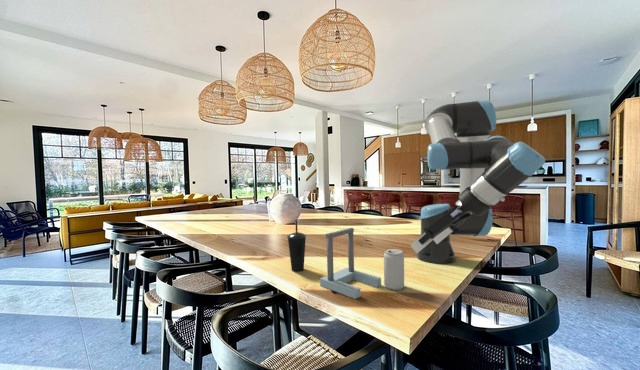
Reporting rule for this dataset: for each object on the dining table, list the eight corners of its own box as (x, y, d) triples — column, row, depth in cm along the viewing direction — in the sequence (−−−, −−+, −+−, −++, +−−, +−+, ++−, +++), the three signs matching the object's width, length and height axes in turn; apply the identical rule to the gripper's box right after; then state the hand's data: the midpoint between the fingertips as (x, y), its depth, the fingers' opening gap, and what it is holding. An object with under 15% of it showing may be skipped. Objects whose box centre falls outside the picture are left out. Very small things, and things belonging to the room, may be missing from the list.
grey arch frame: (381, 285, 92) (380, 231, 91) (355, 299, 82) (354, 239, 81) (346, 274, 102) (345, 226, 102) (320, 285, 93) (318, 233, 92)
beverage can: (381, 283, 93) (381, 248, 92) (400, 282, 93) (399, 247, 93) (388, 291, 87) (387, 254, 86) (407, 290, 87) (407, 253, 87)
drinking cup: (310, 267, 111) (309, 218, 110) (301, 274, 104) (300, 221, 103) (294, 265, 114) (292, 217, 113) (284, 271, 107) (282, 220, 107)
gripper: (477, 211, 60) (413, 265, 71) (504, 202, 77) (450, 246, 89) (451, 187, 64) (395, 241, 75) (483, 184, 81) (433, 228, 92)
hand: (424, 244), depth 82 cm, fingers open, 13 cm apart
